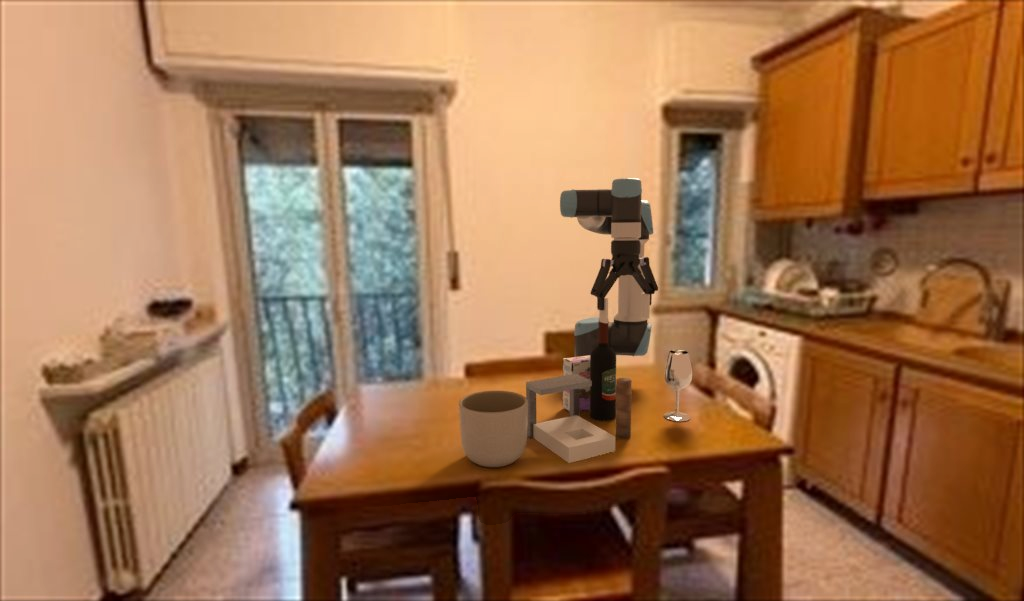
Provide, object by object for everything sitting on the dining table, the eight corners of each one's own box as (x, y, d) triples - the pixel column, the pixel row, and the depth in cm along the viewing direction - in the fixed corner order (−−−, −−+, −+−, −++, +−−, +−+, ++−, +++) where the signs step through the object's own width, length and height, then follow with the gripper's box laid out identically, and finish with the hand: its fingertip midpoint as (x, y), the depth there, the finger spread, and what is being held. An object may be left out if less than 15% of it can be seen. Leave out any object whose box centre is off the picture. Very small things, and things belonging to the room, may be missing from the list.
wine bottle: (600, 410, 175) (600, 315, 170) (620, 416, 169) (621, 318, 165) (584, 417, 170) (585, 319, 165) (605, 423, 164) (606, 322, 160)
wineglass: (658, 417, 168) (660, 352, 165) (671, 410, 174) (672, 347, 171) (683, 424, 163) (685, 356, 160) (695, 416, 168) (697, 351, 165)
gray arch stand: (575, 425, 163) (575, 373, 160) (591, 435, 156) (591, 380, 153) (526, 436, 156) (526, 381, 153) (541, 446, 149) (540, 389, 146)
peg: (624, 432, 157) (625, 377, 155) (633, 437, 154) (634, 380, 151) (612, 435, 155) (613, 379, 153) (621, 440, 152) (622, 382, 149)
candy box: (571, 414, 172) (571, 362, 170) (562, 408, 177) (561, 357, 175) (609, 407, 178) (610, 356, 175) (599, 402, 183) (599, 352, 180)
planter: (532, 472, 134) (531, 411, 132) (460, 476, 133) (458, 414, 130) (524, 443, 151) (524, 389, 148) (460, 447, 149) (459, 391, 147)
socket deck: (576, 428, 161) (576, 415, 160) (615, 451, 145) (615, 436, 144) (533, 437, 154) (533, 424, 154) (568, 463, 139) (568, 447, 138)
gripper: (653, 237, 155) (652, 314, 158) (577, 240, 144) (577, 322, 147) (672, 238, 148) (670, 317, 151) (594, 241, 137) (593, 326, 140)
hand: (624, 320), depth 149 cm, fingers open, 13 cm apart
